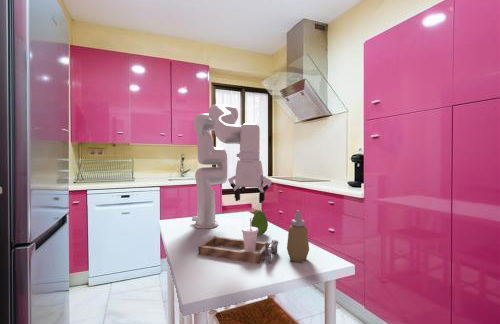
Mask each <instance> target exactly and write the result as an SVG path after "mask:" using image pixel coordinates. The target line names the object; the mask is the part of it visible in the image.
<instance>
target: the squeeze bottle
mask: <svg viewBox="0 0 500 324" xmlns="http://www.w3.org/2000/svg"><path fill="white" fill-rule="evenodd" d="M305 224H306V223H305V219H303V218H302V214H301V210H300V209H296V211H295V215H294V218H293V219H291V225H289V226H288V233H287V243H286V250H287V251H286V252H287V253H288V256H289V259H290V260H291V261H292V262H295V263H302V262H305V261H306V260H307V257H308V255H309V251H310V245H309V235H308V227H307V226H305Z"/></svg>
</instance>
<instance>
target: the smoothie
mask: <svg viewBox="0 0 500 324" xmlns="http://www.w3.org/2000/svg"><path fill="white" fill-rule="evenodd" d="M251 222H252V217H249V226H244V227H242V228H241V233H242V237H243V238H242V240H244V247H245V252H252V253H255V248H256V241H257V237H258V235H257V232H258V228H256V227H251Z"/></svg>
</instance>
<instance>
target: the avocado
mask: <svg viewBox="0 0 500 324" xmlns="http://www.w3.org/2000/svg"><path fill="white" fill-rule="evenodd" d="M268 226H269V222H268V219H267V217H266V214H265V213H264V211H263V210H260V209H259V210H256V211H255V212H254V215H253V217H252V218H251V227H256V228H258V232H257V236H262V235H264V234H265V233H266V232H267V230H268Z"/></svg>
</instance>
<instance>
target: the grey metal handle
mask: <svg viewBox="0 0 500 324" xmlns="http://www.w3.org/2000/svg"><path fill="white" fill-rule="evenodd" d="M268 243H270V245H269V246H268ZM278 245H279V241H278V239H272V240H271V242H268V241H265V251H264V254H265V257H264V263H265V264H271V263H272V254H275V255H277V254H278Z"/></svg>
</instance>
